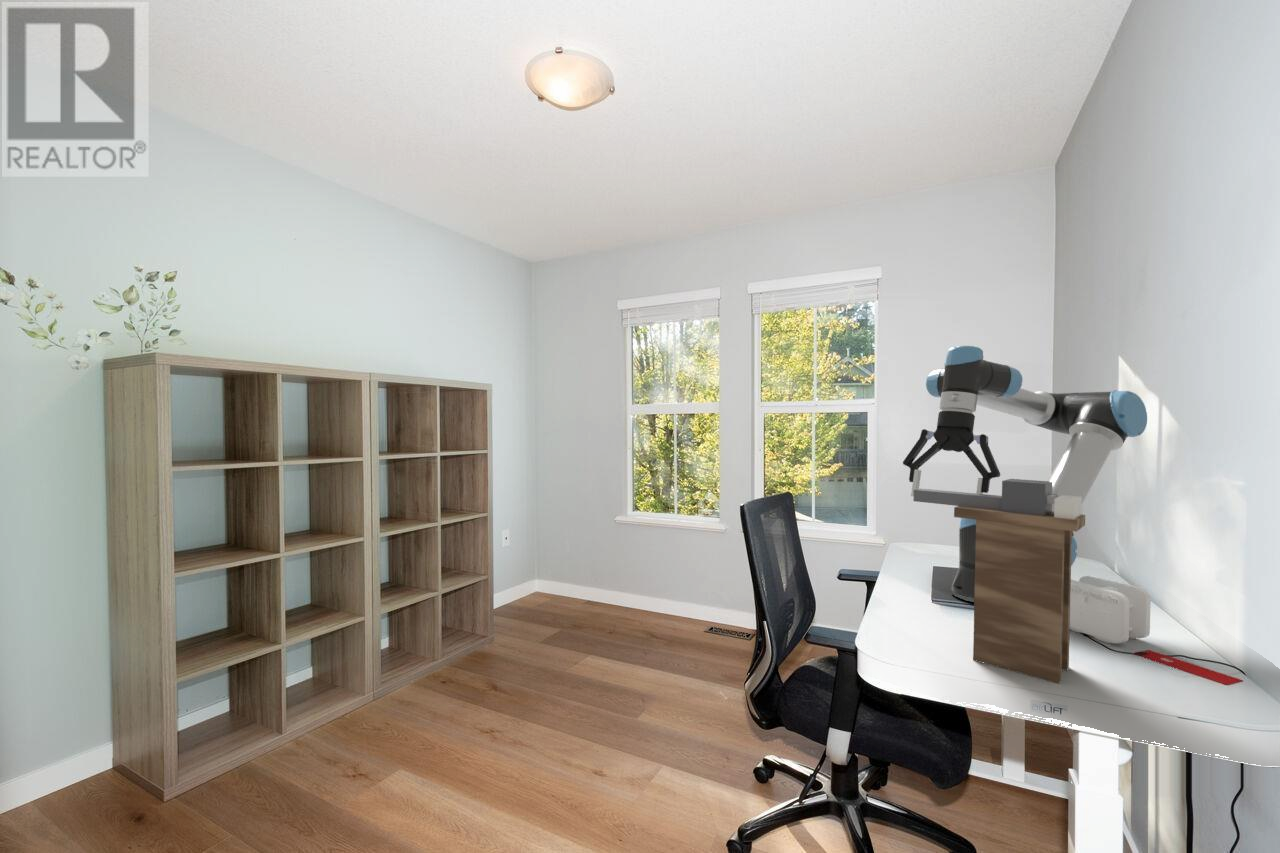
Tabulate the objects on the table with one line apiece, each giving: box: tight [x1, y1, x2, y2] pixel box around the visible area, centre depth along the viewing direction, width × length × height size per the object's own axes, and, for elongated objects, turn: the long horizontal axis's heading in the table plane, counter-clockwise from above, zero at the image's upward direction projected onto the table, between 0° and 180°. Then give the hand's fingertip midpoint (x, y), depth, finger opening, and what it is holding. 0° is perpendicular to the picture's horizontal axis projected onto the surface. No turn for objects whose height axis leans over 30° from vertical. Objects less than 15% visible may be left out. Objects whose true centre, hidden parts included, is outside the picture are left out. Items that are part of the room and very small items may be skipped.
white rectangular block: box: [1054, 495, 1082, 519], centre depth 107 cm, size 8×3×4 cm, turn 135°
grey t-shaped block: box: [913, 478, 1058, 516], centre depth 117 cm, size 7×25×6 cm, turn 45°
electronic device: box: [1132, 649, 1244, 686], centre depth 112 cm, size 6×1×15 cm
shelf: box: [953, 506, 1086, 684], centre depth 113 cm, size 10×20×30 cm, turn 45°
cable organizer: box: [1070, 575, 1152, 644], centre depth 129 cm, size 15×11×12 cm
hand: (945, 501), depth 133 cm, fingers open, 13 cm apart
